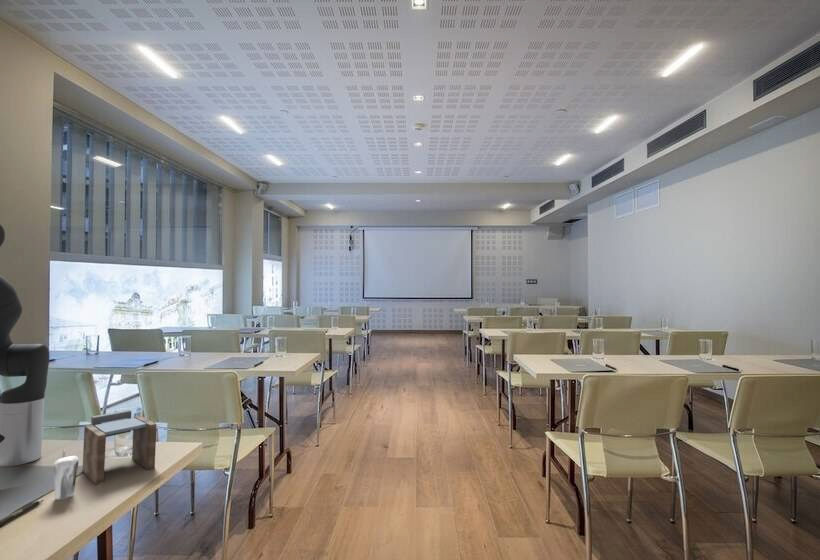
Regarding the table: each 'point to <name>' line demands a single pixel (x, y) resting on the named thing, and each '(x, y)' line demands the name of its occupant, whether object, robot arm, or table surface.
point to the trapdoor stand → (97, 440)
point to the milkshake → (65, 476)
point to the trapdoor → (116, 423)
